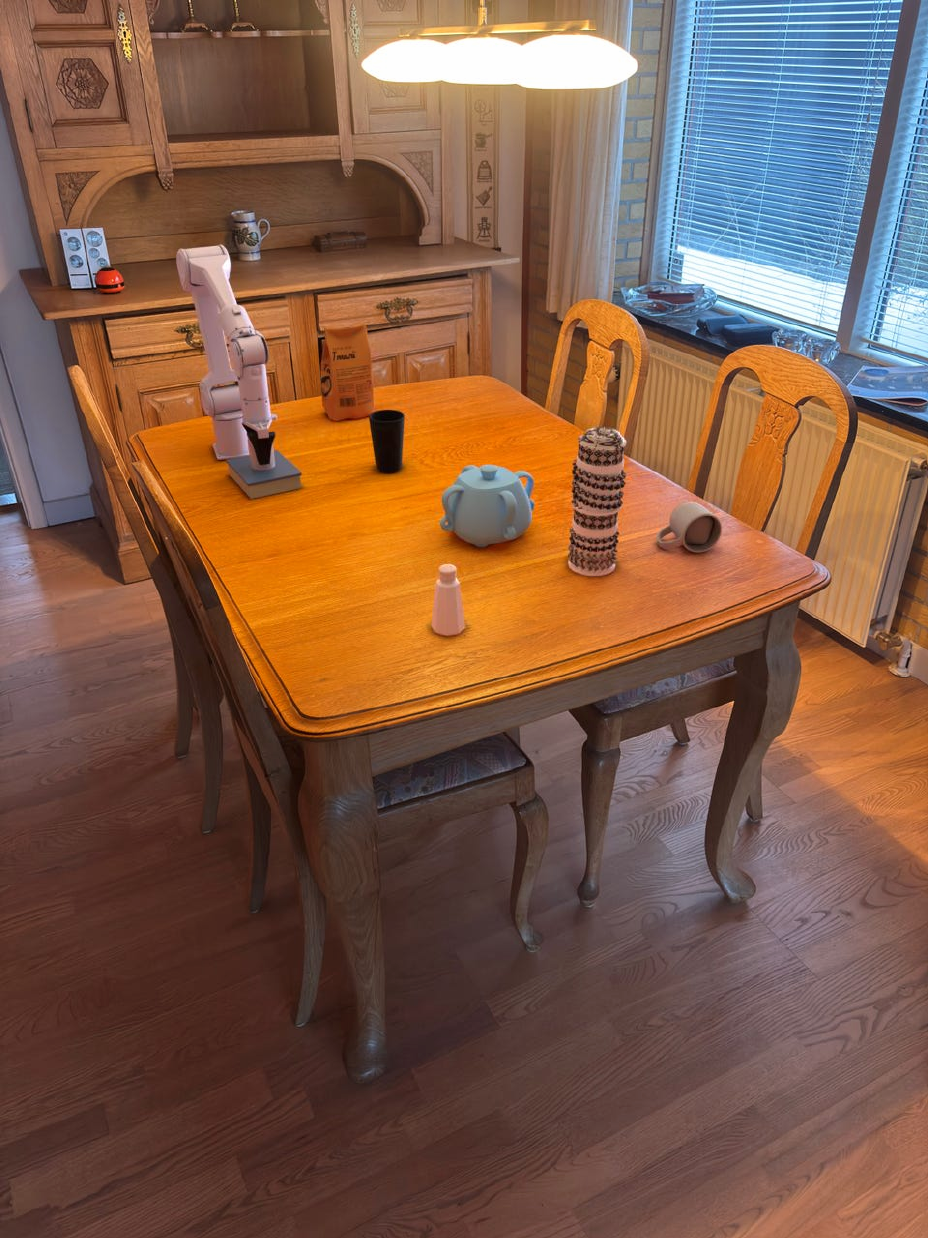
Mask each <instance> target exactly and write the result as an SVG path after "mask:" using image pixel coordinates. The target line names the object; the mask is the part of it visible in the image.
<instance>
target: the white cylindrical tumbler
mask: <svg viewBox="0 0 928 1238" xmlns="http://www.w3.org/2000/svg"><path fill="white" fill-rule="evenodd" d="M247 441H248V448H249V456H250V463H251V468H252V469H254V470H259V471H263V470H269V469H272V468H273V467H275V458H274V450H275V449H274V443H273V444H272V448H271V457H270V464H267V465H259V462H258V460H257V457H256V453H255V450H254V447H253V445H252V443H251V441H250V440H249V438H248V440H247Z"/></svg>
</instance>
